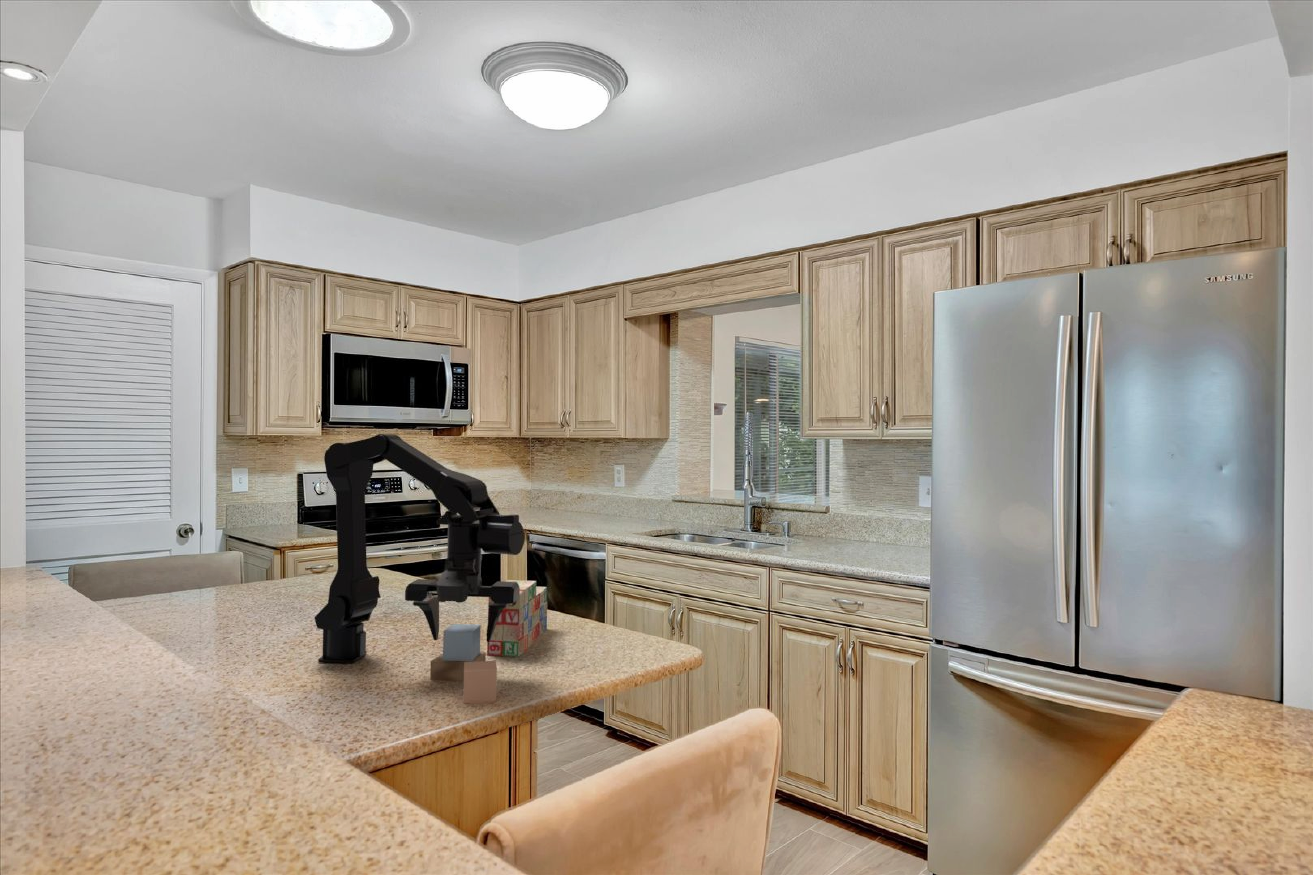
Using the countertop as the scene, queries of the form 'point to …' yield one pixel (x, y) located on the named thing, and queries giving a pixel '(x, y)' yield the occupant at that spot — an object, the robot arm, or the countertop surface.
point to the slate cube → (461, 642)
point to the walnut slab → (450, 668)
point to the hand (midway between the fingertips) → (462, 640)
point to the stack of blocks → (520, 621)
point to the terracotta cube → (480, 681)
